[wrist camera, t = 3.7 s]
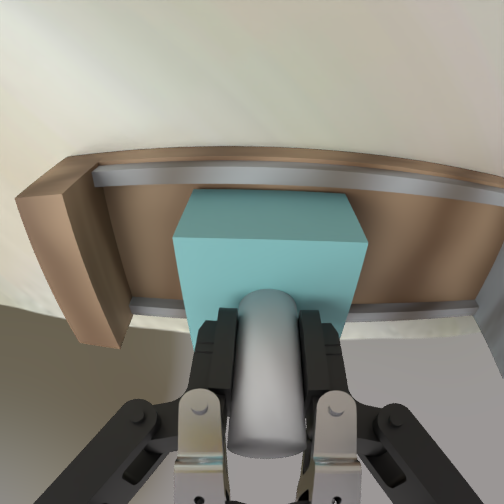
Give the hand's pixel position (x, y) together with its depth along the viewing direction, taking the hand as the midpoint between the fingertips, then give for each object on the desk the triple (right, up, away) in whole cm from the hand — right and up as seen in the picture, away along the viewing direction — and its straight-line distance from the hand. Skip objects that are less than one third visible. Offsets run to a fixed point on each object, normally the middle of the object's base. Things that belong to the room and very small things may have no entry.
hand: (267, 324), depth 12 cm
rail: (+4, +4, +5) cm, 8 cm away
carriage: (0, +3, +4) cm, 5 cm away
